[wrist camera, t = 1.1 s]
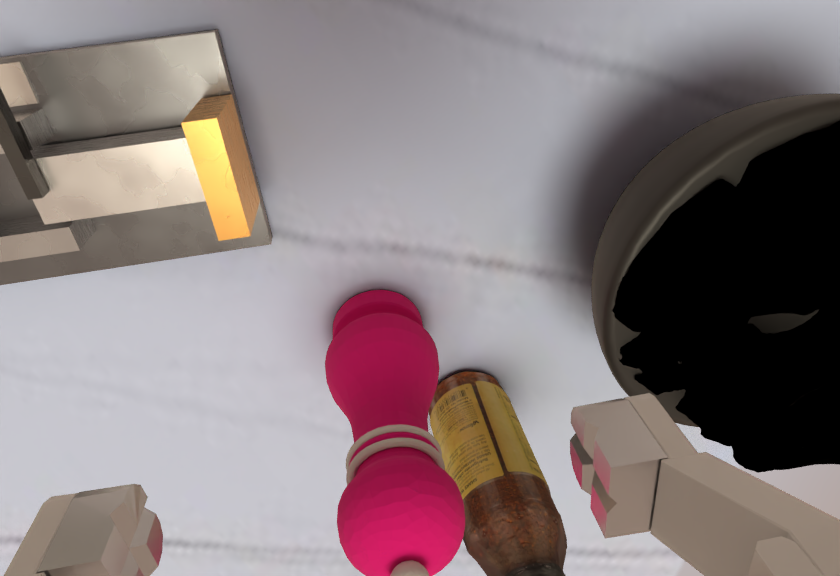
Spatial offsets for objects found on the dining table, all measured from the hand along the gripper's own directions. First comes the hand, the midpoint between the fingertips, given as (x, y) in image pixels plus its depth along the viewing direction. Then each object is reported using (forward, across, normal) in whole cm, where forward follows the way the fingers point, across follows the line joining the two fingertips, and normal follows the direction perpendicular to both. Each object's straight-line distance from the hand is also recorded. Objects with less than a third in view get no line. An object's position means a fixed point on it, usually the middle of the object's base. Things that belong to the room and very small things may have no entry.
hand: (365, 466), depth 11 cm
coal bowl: (+26, -22, +9) cm, 35 cm away
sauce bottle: (+27, -6, +22) cm, 35 cm away
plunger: (+24, +11, -1) cm, 27 cm away
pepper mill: (+26, 0, +14) cm, 30 cm away
